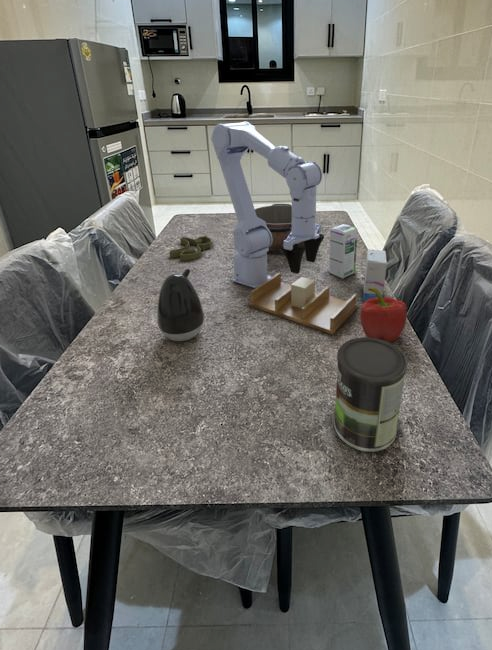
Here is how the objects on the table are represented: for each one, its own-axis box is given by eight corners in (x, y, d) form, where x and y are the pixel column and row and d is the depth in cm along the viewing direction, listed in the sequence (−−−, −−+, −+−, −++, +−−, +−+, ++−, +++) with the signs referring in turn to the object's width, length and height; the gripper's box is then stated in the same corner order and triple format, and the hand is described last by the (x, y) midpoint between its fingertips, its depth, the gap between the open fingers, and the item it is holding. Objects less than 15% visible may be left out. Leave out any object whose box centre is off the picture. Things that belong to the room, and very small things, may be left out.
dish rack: (249, 305, 99) (248, 292, 98) (279, 284, 110) (278, 271, 108) (332, 335, 87) (333, 320, 85) (357, 307, 97) (358, 293, 96)
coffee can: (341, 455, 58) (346, 383, 53) (328, 404, 68) (331, 338, 62) (407, 450, 59) (419, 378, 53) (384, 400, 68) (392, 334, 63)
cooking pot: (254, 228, 154) (253, 202, 150) (310, 228, 152) (310, 202, 148) (242, 258, 127) (240, 227, 122) (310, 259, 125) (310, 228, 121)
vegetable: (347, 327, 89) (350, 289, 85) (384, 317, 93) (388, 280, 89) (376, 354, 80) (380, 313, 76) (415, 341, 84) (421, 302, 80)
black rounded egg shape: (214, 325, 91) (208, 267, 85) (191, 351, 82) (182, 289, 76) (177, 318, 94) (168, 262, 88) (150, 342, 85) (139, 282, 79)
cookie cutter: (183, 240, 143) (183, 235, 142) (215, 240, 142) (214, 235, 141) (166, 260, 126) (165, 254, 126) (202, 260, 125) (201, 255, 125)
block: (291, 305, 97) (291, 284, 95) (301, 297, 101) (301, 276, 98) (304, 309, 95) (305, 288, 93) (314, 301, 99) (315, 280, 96)
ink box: (383, 304, 99) (387, 262, 94) (363, 302, 100) (366, 261, 95) (381, 288, 106) (385, 249, 102) (363, 287, 107) (366, 248, 102)
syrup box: (342, 279, 112) (345, 232, 106) (327, 272, 116) (329, 227, 110) (355, 273, 115) (358, 227, 110) (340, 267, 119) (342, 222, 114)
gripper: (302, 226, 83) (301, 282, 89) (332, 209, 94) (330, 260, 99) (275, 221, 87) (276, 274, 92) (308, 205, 98) (307, 254, 103)
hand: (303, 266), depth 96 cm, fingers open, 7 cm apart
